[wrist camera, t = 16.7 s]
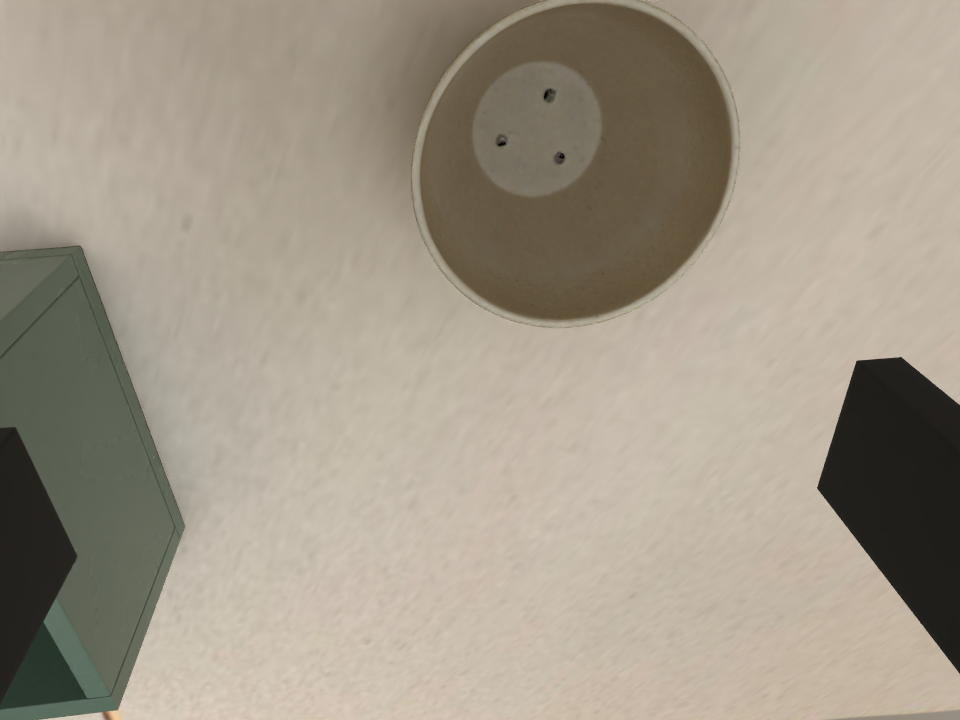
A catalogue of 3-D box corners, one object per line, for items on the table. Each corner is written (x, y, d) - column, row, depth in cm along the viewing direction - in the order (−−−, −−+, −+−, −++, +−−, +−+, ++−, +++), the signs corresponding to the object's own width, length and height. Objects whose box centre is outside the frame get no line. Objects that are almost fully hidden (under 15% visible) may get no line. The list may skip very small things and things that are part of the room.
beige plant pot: (553, 290, 30) (593, 376, 24) (358, 161, 26) (346, 224, 20) (714, 96, 27) (809, 140, 20) (514, -86, 23) (557, -99, 17)
